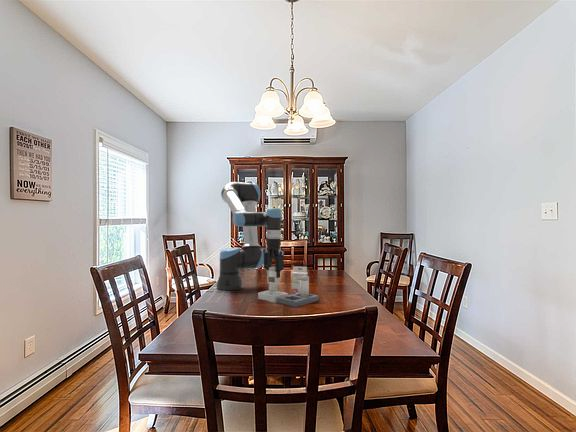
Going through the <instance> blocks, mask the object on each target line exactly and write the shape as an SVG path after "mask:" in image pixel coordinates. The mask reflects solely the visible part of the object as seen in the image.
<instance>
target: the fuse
mask: <svg viewBox="0 0 576 432" xmlns="http://www.w3.org/2000/svg"><path fill="white" fill-rule="evenodd" d="M309 291H310V276H300V296H301V297H309V294H310V292H309Z"/></svg>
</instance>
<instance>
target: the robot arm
mask: <svg viewBox="0 0 576 432" xmlns="http://www.w3.org/2000/svg"><path fill="white" fill-rule="evenodd" d="M220 194H221V198H222V200H223V202H224V203H226V204H227V206H228V207H229V210H230V212H231V213H232V219H231V220H232V225H234V226H235V227H242V231H243V235H242V236H243V245H242V246H241V248H240V247H229V248H225V249H221V251H220V252H219V259H218V260H219V276H218V279H217V283H216V289H217V290H220V291H236V290H241V289H242V288H243V281H242V278H241V276H240V270H256V269H260V268H262V267H263V269H265V270H266V278H267V279H266V282H267V284H269V267H273V266H272V264H273V260H274V267H275V268H276V271H275V284H278V285H280V278H281V271H284V266H285V265H284V261H285V260H284V259H285V258H284V257H285V250H282V249H281V245H282V239H281V237H282V210H281V208H277V207H276V208H275V207H274V208H270V207H268V208H267V209H266V212H265V211H257V210H256V207H257V206H256V205H258V203H259V201H260V200H261V189H260V187H259V185H258V184H257V183H255V182H250V181H249V182H238V181H231V182H228V183H227V184H225V185H224V186H223V188H222V190H221V193H220ZM258 227H266V229H265V230H266V231H265V232H266V234H265V235H266V240H265V241H266V242H265V244H266V246H267V247H266V249H262V247H261V246H262V245H260V244H259V239H258Z"/></svg>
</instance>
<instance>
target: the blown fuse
mask: <svg viewBox="0 0 576 432" xmlns="http://www.w3.org/2000/svg"><path fill="white" fill-rule="evenodd" d="M275 271H276V268H275V266H271V267H269V283H268V291H279V290H278V289H279V288H278V285H279V284H275Z"/></svg>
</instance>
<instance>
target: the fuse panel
mask: <svg viewBox="0 0 576 432" xmlns="http://www.w3.org/2000/svg"><path fill="white" fill-rule="evenodd" d="M319 300H320V297H319V295H317V294H312V293H309V297H301V296H300V292H299V293H295V294H292V293H291V294H288V295H287V296H286V295H285V296H282V297H278V298H277V302H276V303H277V304H281V303H282V305H285V304H286V305H285V306H289V307H294V308H297V307H301V306H304V305H307V304H312V303H315V302H319Z"/></svg>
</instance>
